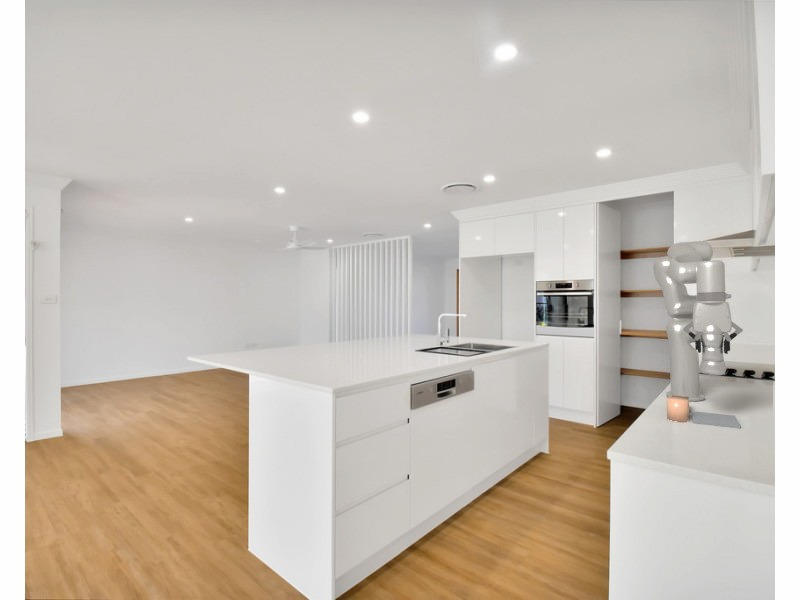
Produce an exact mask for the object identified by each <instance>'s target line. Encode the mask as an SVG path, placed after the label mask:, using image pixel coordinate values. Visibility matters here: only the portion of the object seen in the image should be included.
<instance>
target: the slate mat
mask: <svg viewBox="0 0 800 600" xmlns="http://www.w3.org/2000/svg"><path fill="white" fill-rule="evenodd" d="M690 415H692V416H691V420H692V423H693V424H698V423H701V424H700V425H707V424H708V425H709V426H715V425H717V427H724V426H726V427H727V428H733V427H735V428H734V429H741V424H740V422H739V421H738V420H739V419H738V418H737V417H736V415H733V414H725V413H724V414H722V413H713V412H705V411H704V412H703V411H695V410H694V411H693V410H691V411H690ZM726 427H725V428H726Z"/></svg>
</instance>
